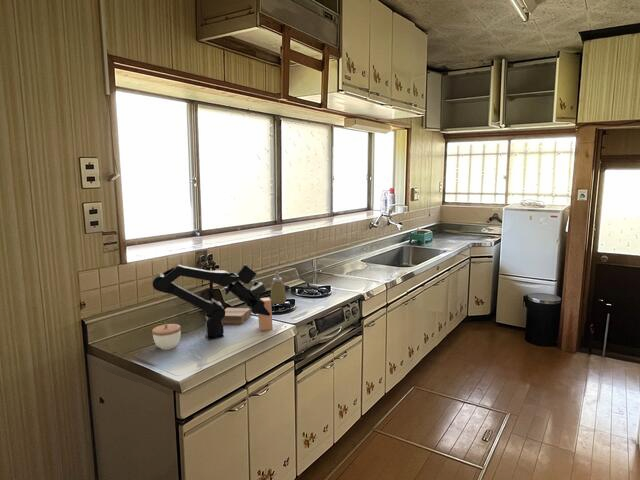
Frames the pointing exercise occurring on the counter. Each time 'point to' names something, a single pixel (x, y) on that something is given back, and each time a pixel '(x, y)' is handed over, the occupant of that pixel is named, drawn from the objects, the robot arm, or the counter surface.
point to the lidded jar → (167, 336)
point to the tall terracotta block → (265, 320)
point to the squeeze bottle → (278, 290)
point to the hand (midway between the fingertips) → (268, 313)
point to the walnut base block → (236, 315)
